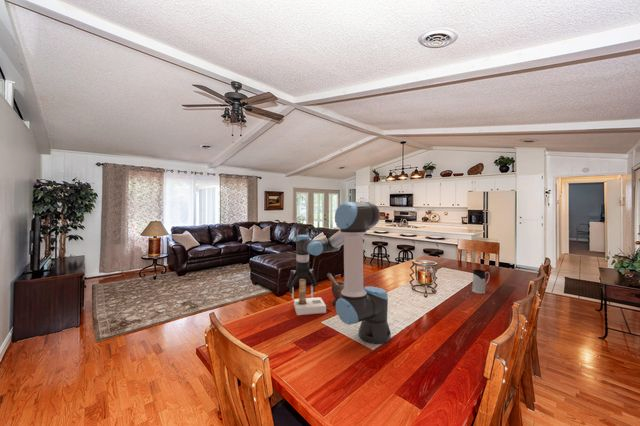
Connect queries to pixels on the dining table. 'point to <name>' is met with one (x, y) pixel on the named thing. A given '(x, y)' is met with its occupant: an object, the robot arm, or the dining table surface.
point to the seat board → (310, 306)
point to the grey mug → (479, 281)
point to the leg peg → (302, 292)
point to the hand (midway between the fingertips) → (302, 297)
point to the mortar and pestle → (336, 288)
